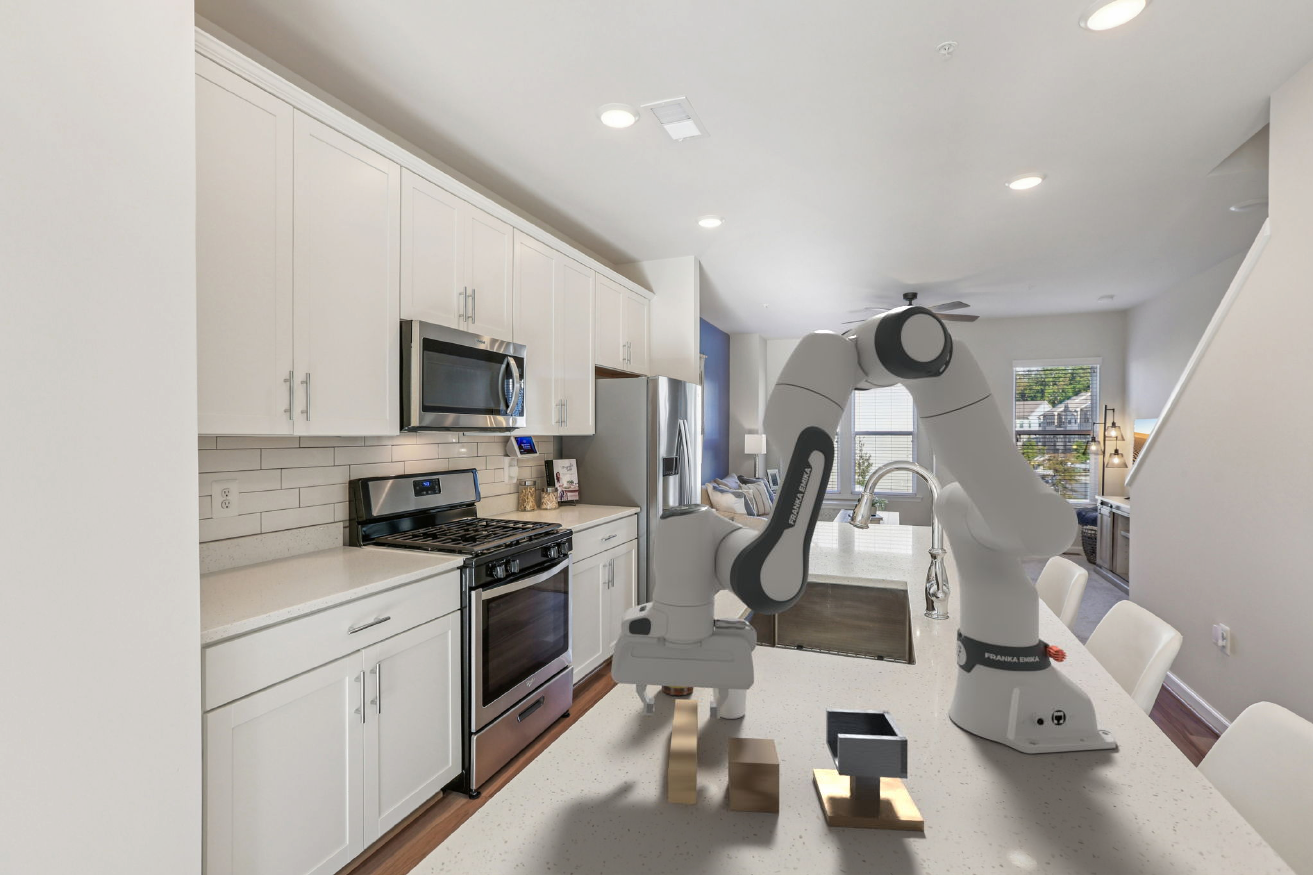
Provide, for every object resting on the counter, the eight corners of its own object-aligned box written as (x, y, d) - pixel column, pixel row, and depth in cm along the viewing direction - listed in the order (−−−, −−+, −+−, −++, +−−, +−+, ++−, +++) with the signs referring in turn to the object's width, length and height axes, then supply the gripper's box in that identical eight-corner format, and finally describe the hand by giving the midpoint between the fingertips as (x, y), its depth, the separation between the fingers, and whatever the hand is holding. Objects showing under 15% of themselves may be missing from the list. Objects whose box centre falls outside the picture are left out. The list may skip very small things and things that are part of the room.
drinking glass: (749, 724, 95) (749, 631, 95) (707, 720, 97) (707, 628, 97) (751, 705, 102) (751, 618, 102) (711, 702, 103) (711, 615, 103)
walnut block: (773, 784, 79) (773, 739, 79) (779, 812, 73) (779, 764, 73) (728, 781, 80) (728, 737, 79) (730, 810, 74) (730, 761, 74)
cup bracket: (896, 781, 80) (896, 707, 80) (924, 830, 70) (924, 745, 70) (813, 777, 81) (813, 703, 81) (828, 825, 71) (828, 741, 71)
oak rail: (675, 727, 95) (675, 699, 95) (697, 728, 95) (697, 699, 95) (668, 804, 75) (668, 769, 75) (696, 805, 75) (696, 770, 75)
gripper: (754, 614, 87) (753, 708, 87) (616, 609, 89) (615, 701, 89) (758, 628, 81) (757, 729, 81) (610, 622, 83) (608, 721, 83)
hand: (681, 714), depth 85 cm, fingers open, 8 cm apart
